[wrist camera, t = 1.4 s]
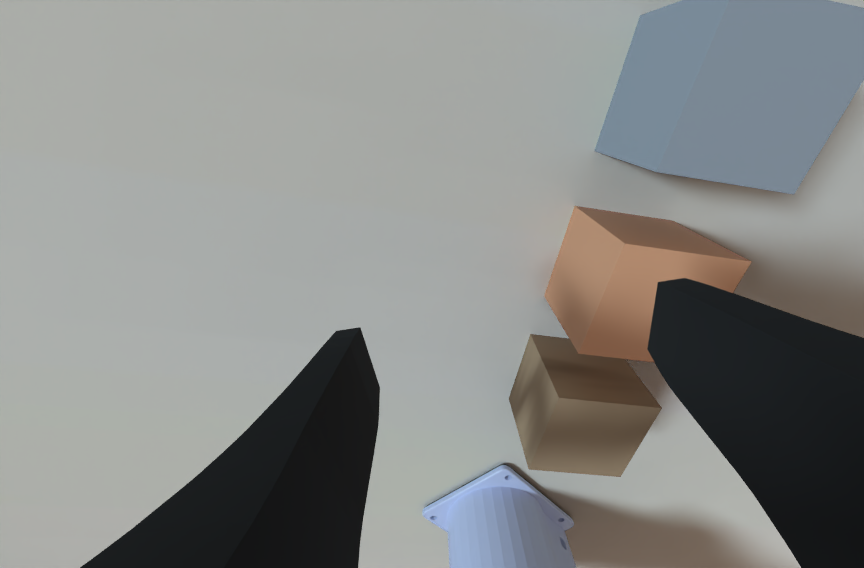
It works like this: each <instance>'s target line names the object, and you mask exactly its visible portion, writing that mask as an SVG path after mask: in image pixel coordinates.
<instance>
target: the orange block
mask: <svg viewBox="0 0 864 568" xmlns="http://www.w3.org/2000/svg"><path fill="white" fill-rule="evenodd" d="M750 264H751V261H749V260H747V259H745V258H744V257H742V256H740V255H738V254H736V253H734V252H732V251H730V250H728V249H726V248H724V247H722V246H720V245H718V244H716V243H714V242H712V241H711V240H709V239H707V238H705V237H703V236H701V235H699V234H697V233H695V232H693V231H691V230H689V229H687V228H685V227H683V226H681V225H680V224H678V223H676V222H674V221H671V220H665V219H658V218H651V217H645V216H638V215H631V214H625V213H618V212H611V211H605V210H598V209H592V208H585V207H578V206H575V207H574V210H573V213H572V216H571V219H570V221H569V224H568V227H567V230H566V233H565V236H564V239H563V242H562V245H561V248H560V251H559V254H558V257H557V260H556V263H555V266H554V269H553V272H552V275H551V278H550V281H549V284H548V287H547V290H546V293H545V296H544V297H545V298H546V300H547V302H548V303H549V305H550V307H551V308H552V310H553V312H554V313H555V315H556V317H557V318H558V320H559V322H560V323H561V325H562V327H563V329H564V330H565V332H566V334H567V335H568V337H569V339H570V340H571V342H572V344H573V345H574V347H575V349H576V350H577V352H578V354H586V355H594V356H603V357H612V358H621V359H630V360H638V361H647V362H654V360H653V359H652V357H651V355H650V353H649V351H648V350H647V348H648V341H649V335H650V329H651V322H652V316H653V310H654V303H655V297H656V291H657V284H658V282H661V281H668V280H674V279H681V278H687V279H691V280H694V281H698V282H701V283H704V284H707V285H710V286H713V287H716V288H719V289H722V290H725V291H728V292H731V293H733V292H734V290H735V289H736V287H737V285H738V284H739V282H740V280H741V279H742V277H743V275H744V274H745V272H746V270H747V269H748V267H749V265H750Z"/></svg>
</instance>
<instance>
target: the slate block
mask: <svg viewBox="0 0 864 568" xmlns="http://www.w3.org/2000/svg"><path fill="white" fill-rule="evenodd" d="M863 80H864V8H861V7H857V6H852V5H847V4H843V3H838V2H834V1H829V0H682V1H679V2H677V3H674V4H671V5H668V6H665V7H663V8H660V9H657V10H654V11H651V12H649V13H646V14H643V15H640V18H639V21H638V24H637V27H636V30H635V33H634V36H633V39H632V42H631V45H630V48H629V50H628V53H627V56H626V59H625V62H624V65H623V68H622V71H621V74H620V77H619V80H618V83H617V86H616V89H615V92H614V95H613V98H612V101H611V104H610V107H609V109H608V112H607V115H606V118H605V121H604V124H603V127H602V130H601V133H600V136H599V139H598V142H597V145H596V148H595V151H596V152H599V153H602V154H605V155H608V156H611V157H614V158H617V159H620V160H622V161H625V162H628V163H631V164H634V165H637V166H640V167H643V168H646V169H649V170H652V171H655V172H659V173H665V174H671V175H678V176H684V177H690V178H696V179H702V180H708V181H714V182H721V183H727V184H733V185H739V186H745V187H751V188H757V189H764V190H770V191H776V192H782V193H788V194H795V192H796V190H797V189H798V187H799V185H800V184H801V182H802V180H803V179H804V177H805V175H806V174H807V172H808V171H809V169H810V167H811V166H812V164H813V162H814V161H815V159H816V157H817V156H818V154H819V152H820V151H821V149H822V148H823V146H824V144H825V143H826V141H827V139H828V138H829V136H830V134H831V133H832V131H833V129H834V128H835V126H836V124H837V123H838V121H839V120H840V118H841V116H842V115H843V113H844V111H845V110H846V108H847V106H848V105H849V103H850V101H851V100H852V98H853V97H854V95H855V93H856V92H857V90H858V88H859V87H860V85H861V83H862V82H863Z"/></svg>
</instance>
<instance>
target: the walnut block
mask: <svg viewBox="0 0 864 568" xmlns="http://www.w3.org/2000/svg"><path fill="white" fill-rule="evenodd" d="M509 401H510V404H511V408H512V411H513V415H514V418H515V422H516V425H517V429H518V433H519V436H520V440H521V443H522V447H523V450H524V454H525V457H526V461H527V465H528V468H529V469H531V470H543V471H555V472H567V473H580V474H592V475H604V476H616V477H621V475H622V473H623V472H624V470H625V468H626V467H627V465H628V463H629V462H630V460H631V458H632V457H633V455H634V454H635V452H636V450H637V449H638V447H639V445H640V444H641V442H642V440H643V439H644V437H645V435H646V434H647V432H648V430H649V429H650V427H651V425H652V424H653V422H654V420H655V419H656V417H657V415H658V414H659V412H660V410H661V409H662V408H661V406H660V405H659V404H658V402H657V401H656V400H655V398H654V397H653V396H652V394H651V393H650V392H649V390H648V389H647V388H646V387H645V385H644V384H643V383H642V381H641V380H640V379H639V377H638V376H637V375H636V373H635V372H634V371H633V369H632V368H631V367H630V365H629V364H628V363H627V361H626V360H625V359H621V358H612V357H603V356H594V355H586V354H578V352H577V350H576V349H575V347H574V345H573V344H572V342H571V340H570V339H567V338H559V337H550V336H542V335H533V334H530V337H529V340H528V343H527V346H526V349H525V352H524V355H523V358H522V361H521V364H520V367H519V370H518V373H517V376H516V379H515V382H514V385H513V388H512V391H511V394H510V397H509Z"/></svg>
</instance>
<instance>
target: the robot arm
mask: <svg viewBox="0 0 864 568" xmlns="http://www.w3.org/2000/svg"><path fill="white" fill-rule="evenodd" d="M647 350H648V351H649V353H650V355H651V357H652V359H653V360H654V362H655V364H656V366H657V367H658V369H659V371H660V372H661V374H662V376H663V377H664V379H665V380H666V382H667V384H668V385H669V387H670V388H671V389H672V391H673V392H674V393H675V395H676V396H677V397H678V398H679V400H680V401H681V402H682V404H683V405H684V406H685V407H686V409H687V410H688V411H689V413H690V414H691V415H692V416H693V418H694V419H695V420H696V421H697V423H698V424H699V425H700V426H701V428H702V429H703V430H704V431H705V433H706V434H707V435H708V436H709V438H710V439H711V440H712V441H713V443H714V444H715V445H716V446H717V448H718V449H719V450H720V451H721V453H722V454H723V455H724V456H725V458H726V459H727V460H728V461H729V463H730V464H731V465H732V466H733V468H734V469H735V470H736V471H737V473H738V474H739V475H740V477H741V478H742V479H743V481H744V482H745V483H746V485H747V486H748V488H749V489H750V490H751V492H752V493H753V494H754V496H755V497H756V499H757V500H758V502H759V503H760V505H761V506H762V508H763V509H764V511H765V512H766V514H767V515H768V517H769V518H770V520H771V521H772V523H773V524H774V526H775V527H776V529H777V530H778V532H779V533H780V535H781V536H782V538H783V539H784V541H785V542H786V544H787V545H788V547H789V549H790V550H791V552H792V553H793V555H794V557H795V558H796V560H797V561H798V563H799V565H800V566H801V568H864V338H862V337H859V336H855V335H852V334H849V333H846V332H843V331H840V330H837V329H834V328H831V327H828V326H825V325H822V324H819V323H816V322H813V321H810V320H807V319H804V318H801V317H798V316H795V315H793V314H790V313H787V312H784V311H781V310H778V309H776V308H773V307H770V306H767V305H764V304H762V303H759V302H756V301H753V300H750V299H748V298H745V297H742V296H739V295H736V294H734V293H731V292H728V291H725V290H722V289H719V288H716V287H713V286H710V285H707V284H704V283H701V282H698V281H694V280H691V279H687V278H681V279H674V280H668V281H661V282H658V284H657V291H656V297H655V303H654V310H653V316H652V322H651V329H650V335H649V341H648V348H647ZM379 394H380V387H379V384H378V381H377V378H376V374H375V371H374V368H373V365H372V362H371V359H370V356H369V353H368V350H367V347H366V344H365V341H364V338H363V335H362V331H361V328H353V329H347V330H340V331H336V332H335V333H334V334H333V335H332V336H331V337H330V339H329V340H328V341H327V342H326V343H325V344H324V345H323V347H322V348H321V349H320V350H319V351H318V352H317V354H316V355H315V356H314V357H313V358H312V359H311V361H310V362H309V363H308V364H307V365H306V366H305V368H304V369H303V370H302V371H301V372H300V373H299V374H298V376H297V377H296V378H295V379H294V380H293V381H292V382H291V384H290V385H289V386H288V387H287V388H286V389H285V390H284V391H283V393H282V394H281V395H280V396H279V397H278V398H277V399H276V400H275V401H274V402H273V403H272V404H271V405H270V406H269V407H268V408H267V409H266V410H265V411H264V412H263V413H262V415H261V416H260V417H259V418H258V419H257V420H256V421H255V422H254V423H253V424H252V425H251V426H250V427H249V428H248V429H247V430H246V431H245V432H244V433H243V434H242V435H241V436H240V437H239V438H238V439H237V440H236V441H235V442H234V443H233V444H232V445H230V446H229V447H228V448H227V449H226V450H225V451H224V452H223V453H222V454H221V455H220V456H219V457H217V458H216V459H215V460H214V461H213V462H212V463H211V464H210V465H209V466H207V467H206V468H205V469H204V470H203V471H202V472H201V473H200V474H198V475H197V476H196V477H195V478H194V479H193V480H192V481H190V482H189V483H188V484H187V485H185V486H184V487H183V488H182V489H181V490H179V491H178V492H177V493H176V494H174V495H173V496H172V497H171V498H170V499H168V500H167V501H166V502H165V503H163V504H162V505H161V506H160V507H158V508H157V509H156V510H155V511H154V512H152V513H151V514H150V515H149V516H147V517H146V518H145V519H144V520H142V521H141V522H140V523H139V524H138V525H136V526H135V527H134V528H133V529H131V530H130V531H129V532H127V533H126V534H125V535H123V536H122V537H121V538H119V539H118V540H117V541H115V542H114V543H113V544H111V545H110V546H109V547H107V548H106V549H105V550H103V551H102V552H101V553H100V554H98V555H97V556H96V557H94V558H93V559H92V560H90V561H89V562H87V563H86V564H85V565H83V566H82V567H80V568H358V561H359V547H360V538H361V530H362V522H363V515H364V509H365V503H366V497H367V491H368V485H369V479H370V473H371V467H372V461H373V455H374V449H375V443H376V437H377V430H378V420H379ZM423 516H424V517H425V518H426V519H428V520H429V521H431V522H432V523H434V524H436V525H437V526H439V527H440V528H442V529H443V530H445V531H446V532H448V546H449V564H450V568H576V565H575V562H574V559H573V555H572V552H571V549H570V546H569V543H568V540H567V537H566V534H565V531H566V530H568V529H570V528H572V527H573V526H574V522H573V519H572V518H571V517H570V516H568V515H567V514H566V513H565V512H563V511H562V510H561V509H560V508H559V507H557V506H556V505H555V504H554V503H552V502H551V501H550V500H549V499H548V498H546V497H545V496H544V495H543V494H542V493H540V492H539V491H538V490H537V489H535V488H534V487H533V486H532V485H531V484H529V483H528V482H527V481H526V480H524V479H523V478H522V477H521V476H520V475H518V474H517V473H516V472H515V471H514V470H512V469H511V468H510V467H509V466H507V465H501V466H499V467H497V468H495V469H493V470H491V471H490V472H488V473H486V474H484V475H482V476H481V477H479V478H477V479H475V480H473V481H472V482H470V483H468V484H466V485H464V486H463V487H461V488H459V489H457V490H455V491H454V492H452V493H450V494H448V495H446V496H445V497H443V498H441V499H439V500H437V501H436V502H434V503H432V504H430V505H428V506H427V507H425V508H424V509H423Z"/></svg>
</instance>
